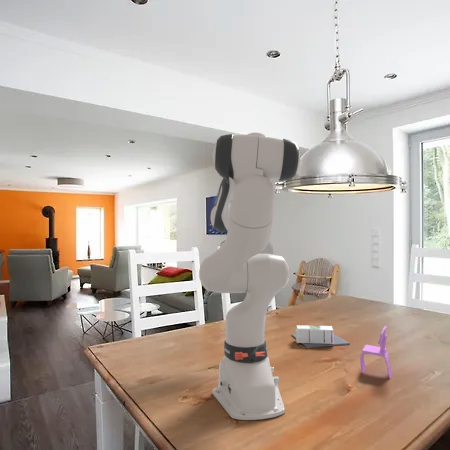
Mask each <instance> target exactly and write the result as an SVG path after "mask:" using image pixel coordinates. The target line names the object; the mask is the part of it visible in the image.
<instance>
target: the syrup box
mask: <svg viewBox="0 0 450 450" xmlns="http://www.w3.org/2000/svg"><path fill="white" fill-rule="evenodd" d="M334 331H335V330H334V329H333V326H332V325H310V324H309V325H307V324H306V325H304V324H303V325H302V324H301V325H300V324H297V325H295V334H296V339H295V342H296V343H297V344H302V343H319V344H334V334H335V332H334Z"/></svg>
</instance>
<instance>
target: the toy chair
mask: <svg viewBox="0 0 450 450" xmlns="http://www.w3.org/2000/svg"><path fill="white" fill-rule="evenodd" d="M387 328H388V326H387V325H384V327H383V328H382V330H381V333H380V335H379V338H378V339H379V340H378V342H377V344H378V345H379V346H375V345H370V344H365V345H364V347H363V348H362V350H361V351H362V352H361V354H360V359H359V361H360V371H361V372H360V373H361V374H364V373H365V370H366V369H367V365H366V363H365V355H373V356H378V357H382V358H383V359H384V360H385V364H386V367H387V368H386V369H387V373H388V379H391V378H392V375H393V370H392V367H391V363H390V355H389V352H388V350H387V349H388V348H387V347H386V346H387V345H386V343H387V338H388V334H386V331H387Z"/></svg>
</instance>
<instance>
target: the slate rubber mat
mask: <svg viewBox="0 0 450 450" xmlns="http://www.w3.org/2000/svg"><path fill="white" fill-rule="evenodd" d="M291 337H293V338H294V339H295V340H296V333H291ZM301 345H303V346H304V347H305V348H306V349H309V348H311V349H312V348H323V347H324V348H325V347H336V346H348V345H350V342H349V341H347V340H346V339H344V338H342V337H340V336H339V335H337V334H335V333H334V344H319V343H301Z"/></svg>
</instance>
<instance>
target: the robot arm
mask: <svg viewBox="0 0 450 450" xmlns="http://www.w3.org/2000/svg"><path fill="white" fill-rule="evenodd" d="M212 163H213V165H214V169H215V171H216V172H217V173H218V175H219V176H220V177H221V178H222V180H221V182H220V184H219V188H218V191H217V193H216V194H217V195H216V198H215V202H214V204H213V205H212V208H211V212H210V223H211V226H212V228H213V229H215V230H216V231H218V232H219V233H224V232H227V234H226V238H225V240H223V241H221V243H219V244H220V245H219V248H218V249H217V250H216V251H215V252H213V253H212V254H210V255H208V256H207V257H205V258H204V259H203V261H202V262H201V264H200V267H199V270H198V271H199V272H198V277H199V281H200V283H201V285H202V287H203V288H204V289H205V290H206V291H208V292H213V293H219V294H243V293H244V294H246V295H245V297H244V299H243V300H242V301H241V302H240V303H238V304H236V305H233V306H232V307H231V308H230V309H229V310H228V312H226V314H225V340H224V342H223V343H224V345H223V352H224V353H223V354H224V356H223V358H222V360H220V362H218V386H216V387H215V388H213V389H212V395H213V396H214V398H215V399H216V400H217V401H218V403H219V404H220V405H221V407H223V408H224V410H225V412H226V413H227V414H228V416H229V417H231V418H232V419H235V420H239V421H240V420H241V421H256V420H266V419H267V420H268V419H273V418H276V417H279V416H281V415H283V414H285V413H286V410H285V405H284V402H283V399H282V396H281V392H280V389H279V386H280V378H279V376H273V375H274V374H273V373H274V372H275V367H274V366H271V364H270V358H269V357H268V346H267V341H266V340H265V337H266V336H265V333H266V332H265V331H266V330H265V329H266V328H265V327H266V316H267V312H268V309H269V306H270V304H271V302H273V299H274V298H275V297H276V295H277V294H278V293H280V292H281V290H283V289H284V288H285V287H286V286H287V284H288V283H289V281H290V277H291V275H290V274H291V273H290V267H289V264H288V262H287V261H286V259H285V258H284V257H283V256H282V255H277V254H275V251H274V247H273V244H272V242H271V241H270V240H271V239H270V238H271V232H272V226H273V219H274V213H275V192H274V191H275V190H274V189H275V188H274V185H273V183H272V181H278V182H285V181H286V182H287V181H289V180H292V179H293V178H294V177H295V176H296V175H297V172H298V170H299V168H300V165H301V153H300V149H299V146H298V145H297V143H296V142H295V141H293V140H290V139H286V138H283V139H281V138H277V137H276V138H275V137H269V136H267V135H265V134H264V133H261V132H249V133H247V134H235V135H234V134H233V133H230V134H224V135H220V136H219V137H218V138H217V140H216V142H215V144H214V146H213V150H212Z"/></svg>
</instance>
